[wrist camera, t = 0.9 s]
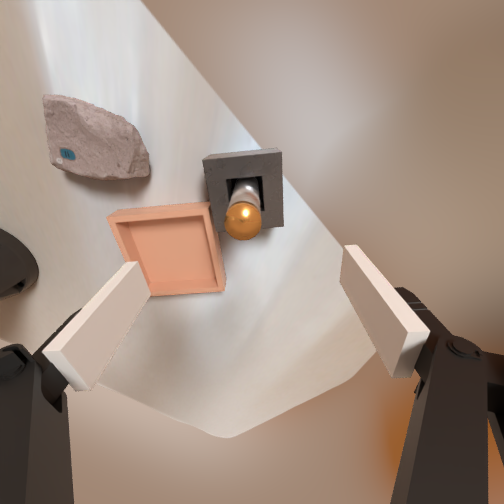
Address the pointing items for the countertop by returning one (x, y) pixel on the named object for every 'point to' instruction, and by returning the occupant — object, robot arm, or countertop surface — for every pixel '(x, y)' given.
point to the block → (239, 166)
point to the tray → (172, 247)
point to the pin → (244, 210)
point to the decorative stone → (92, 140)
